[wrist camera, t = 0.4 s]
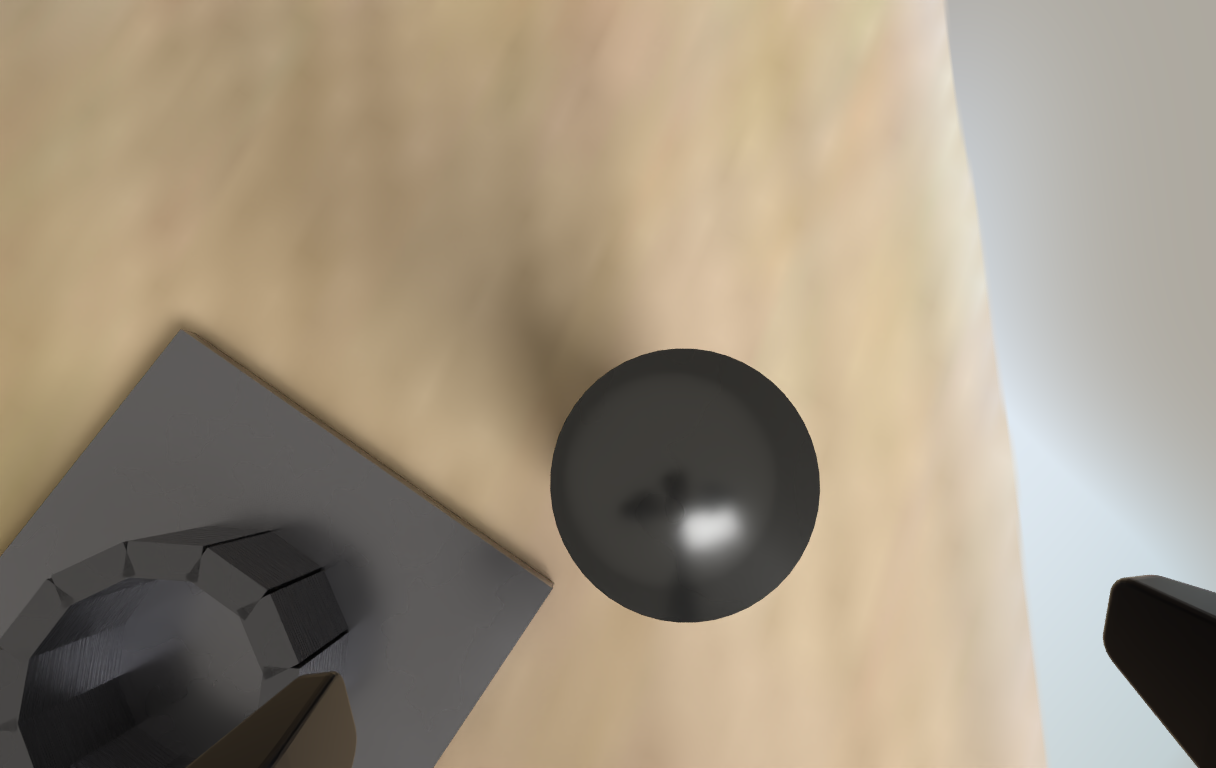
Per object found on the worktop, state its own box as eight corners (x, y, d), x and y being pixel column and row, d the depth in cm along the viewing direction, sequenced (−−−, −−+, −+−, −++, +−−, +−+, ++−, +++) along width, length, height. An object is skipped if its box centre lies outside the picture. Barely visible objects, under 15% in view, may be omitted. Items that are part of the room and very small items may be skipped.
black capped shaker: (648, 551, 22) (725, 678, 9) (548, 482, 22) (495, 519, 10) (714, 450, 22) (869, 445, 10) (615, 383, 22) (648, 298, 10)
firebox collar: (274, 1002, 20) (187, 1153, 15) (-108, 717, 20) (-293, 787, 16) (554, 583, 22) (545, 615, 17) (195, 333, 22) (101, 304, 18)
